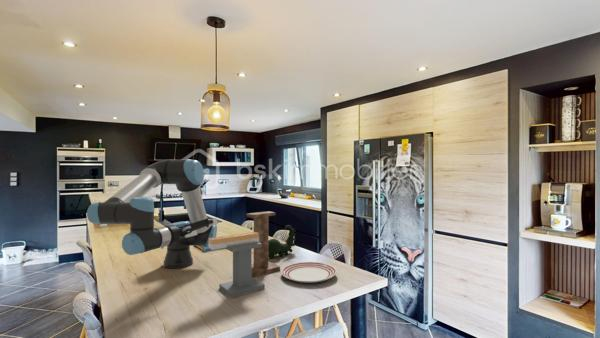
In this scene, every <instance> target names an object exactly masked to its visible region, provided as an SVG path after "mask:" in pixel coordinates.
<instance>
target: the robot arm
mask: <svg viewBox="0 0 600 338" xmlns="http://www.w3.org/2000/svg"><path fill="white" fill-rule="evenodd" d="M204 173H205V171H204V167H203V165H202V163H201V162H200V161H198V160H196V159H189V158H188V159H163V160H159V161H156V162H154V163H152V164H150V165H148V166H147V167H145V168H144V169H142V170H141V171H140V173H139V176H137V177H135V178H134V179H133V180H132V181H131V182H129V183H127V184H126V185H124V187H122V188H121V189H120V190H118V191H117V192H116V193H114V194H113V195H111V196H110V197H109V198H108V199H107V200H105V201H104V202H101V201H99V202H93V203H92V204H90V205H89V206H88V208H87V210H86V218H87V220H88V221H89V222H90V223H91V224H95V225H97V224H98V225H99V224H100V225H129V232H128V233H126V234H125V235H124V236H123V237H122V240H121V247H122V250H123V251H124V253H125V254H127V255H129V256H132V255H134V256H135V255H137V254H144V253H146V252H150V251H153V250H156V249H159V248H160V249H161V250H163V249H164V247H166V253H165V257H164V259H163V267H164V268H166V269H181V268H182V269H183V268H186V267H189V266H192V265H193V263H194V258H193V256H192V252H191V250H190V249H191V248H190V247H191V246H194V247H207V246H208V243H209V238H214V237H217V235H218V234H217V233H218V227H217V225H218V224H219V223H218V220H217V217H215V218H209V217H208V215H207V212H206V208H205V204H204V200H203V196H202V192H201V188H200V187H201V186H202V183H203V181H204V179H205V174H204ZM162 185H175V187H176V189H177V190H178V191H179V192H181V195H182V197H183V202H184V204H185V208H186V211H187V215H188V217H189V218H188V219H189V220H186V221H184V220H183V221H177V222H176V221H175V222H173V223H170V224H168V225H165V226H159V227H155V205H154V201H155V200H154V198H153V197H151V196H145V195H146V194H148V193H149V192H150V191H151V190H152V189H155V188H158V187H159V186H162Z"/></svg>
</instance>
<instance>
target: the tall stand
mask: <svg viewBox="0 0 600 338" xmlns="http://www.w3.org/2000/svg"><path fill="white" fill-rule="evenodd" d="M276 213H277V212H274V211H269V210H268V211H259V212H258V211H257V212H250V213H246V217H247V218H251V219H253V232H257V233H259V243H262V247H259V248H253V263H251V277H253V278H255V277H258V276H262V275H267V274H271V273H275V272H281V266H280V265H277V264H275V263H273V262H271V261H269V257H268V241H269V236H270V235H269V230H270V229H269V227H270V225H269V223H270V222H269V220H270V219H269V217H271V216H272V217H274V216H276Z"/></svg>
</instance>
